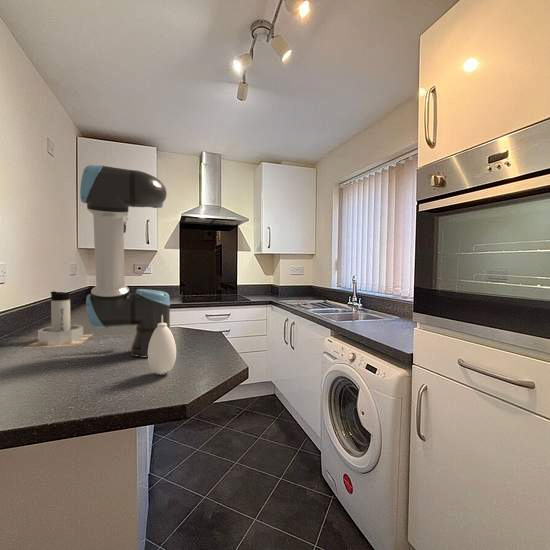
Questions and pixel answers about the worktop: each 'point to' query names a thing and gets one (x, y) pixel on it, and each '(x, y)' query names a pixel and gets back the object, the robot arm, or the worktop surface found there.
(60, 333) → the collar
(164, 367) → the sauce bottle
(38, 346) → the birch board
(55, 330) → the travel mug
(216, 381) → the worktop surface
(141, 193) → the robot arm
